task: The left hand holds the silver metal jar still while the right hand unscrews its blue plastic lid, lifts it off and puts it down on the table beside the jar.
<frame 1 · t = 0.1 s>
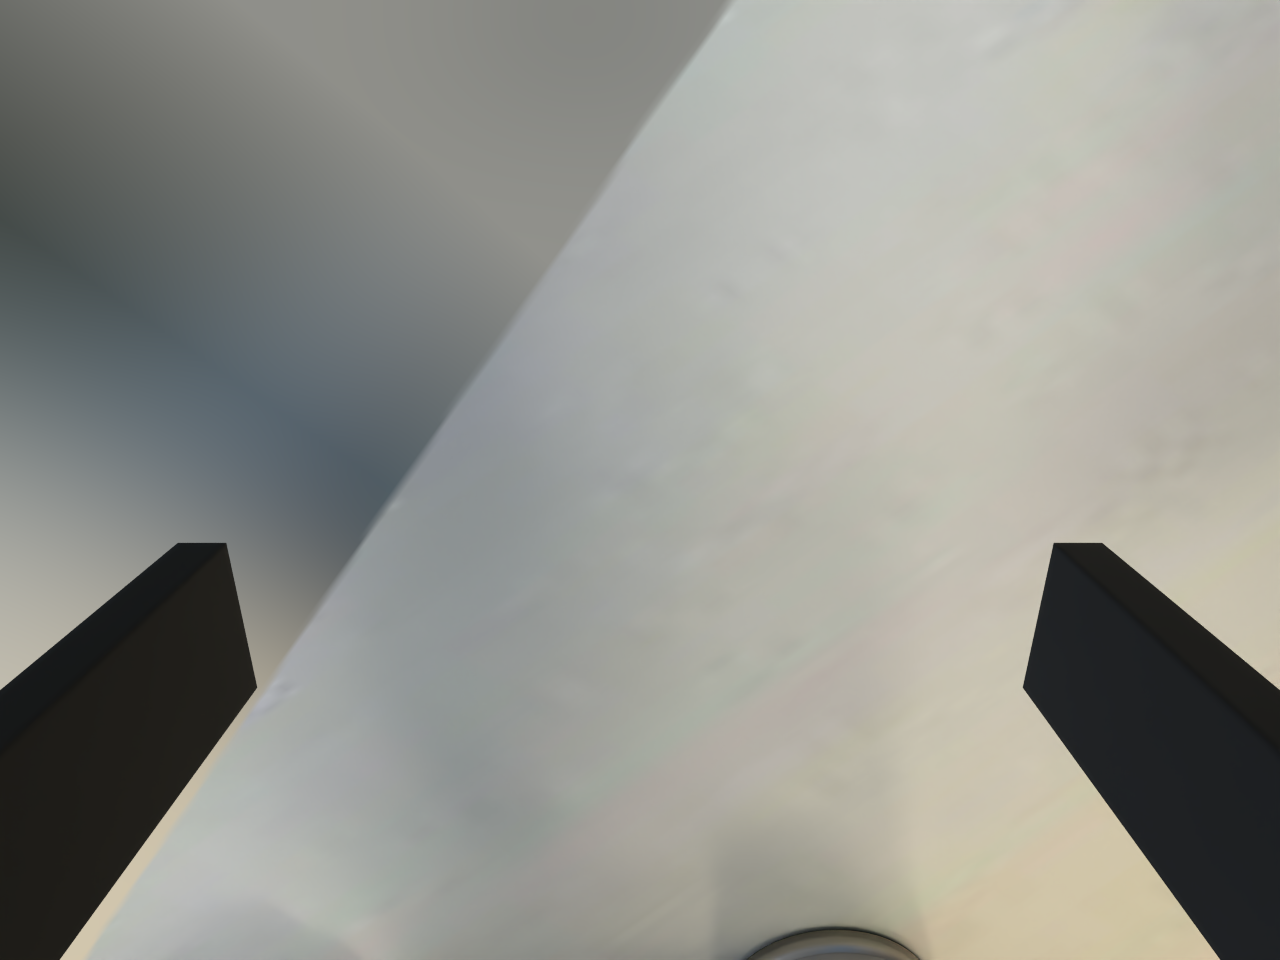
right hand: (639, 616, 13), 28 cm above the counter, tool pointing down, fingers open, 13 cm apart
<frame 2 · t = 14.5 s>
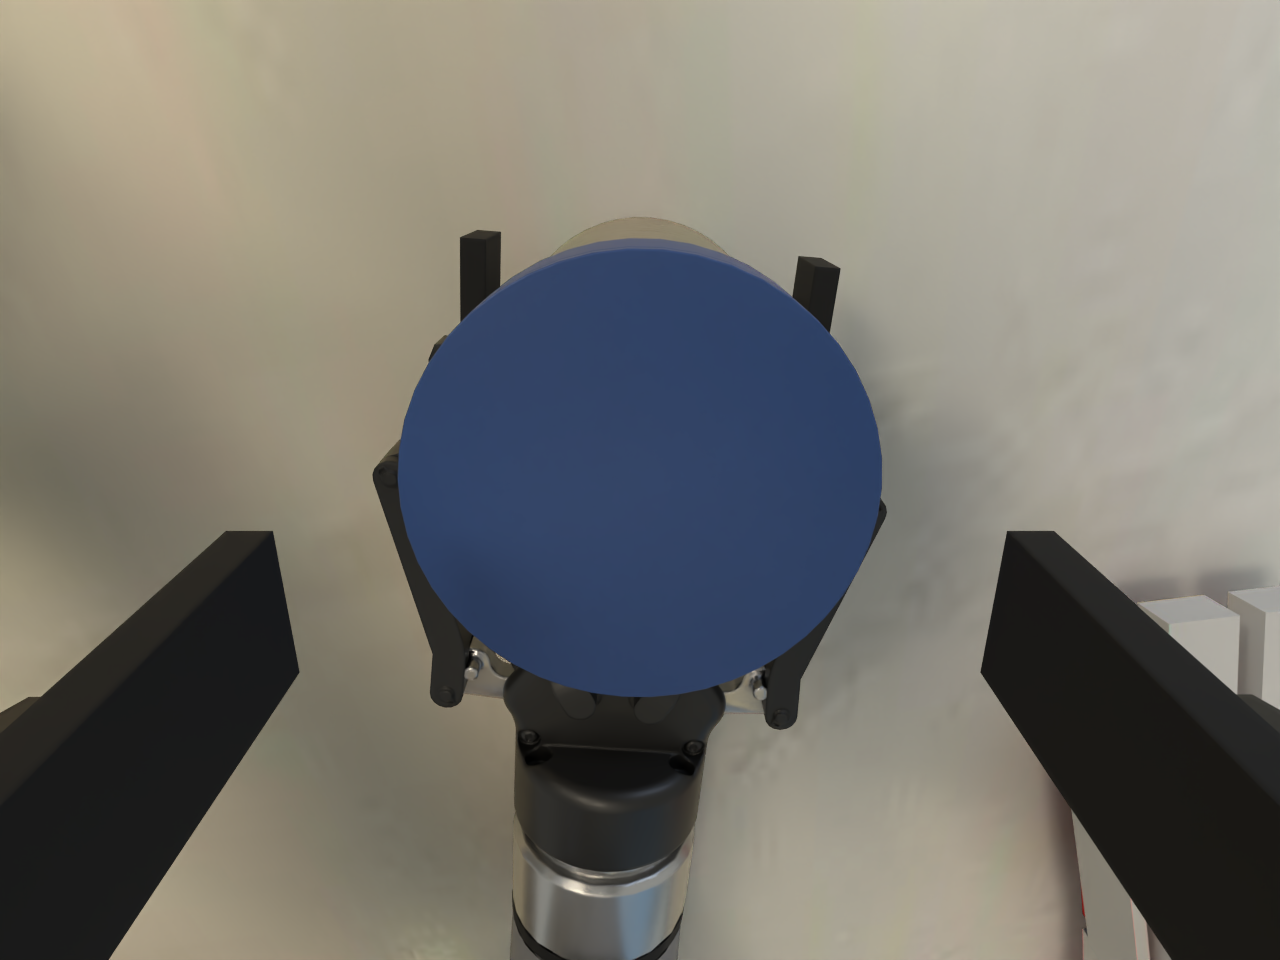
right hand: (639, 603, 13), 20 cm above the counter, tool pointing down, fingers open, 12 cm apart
toy: (1138, 812, 41), on the counter
lid: (640, 492, 18), point 16 cm above the counter, screwed on, not yet turned
jar: (640, 343, 32), on the counter, touching left hand
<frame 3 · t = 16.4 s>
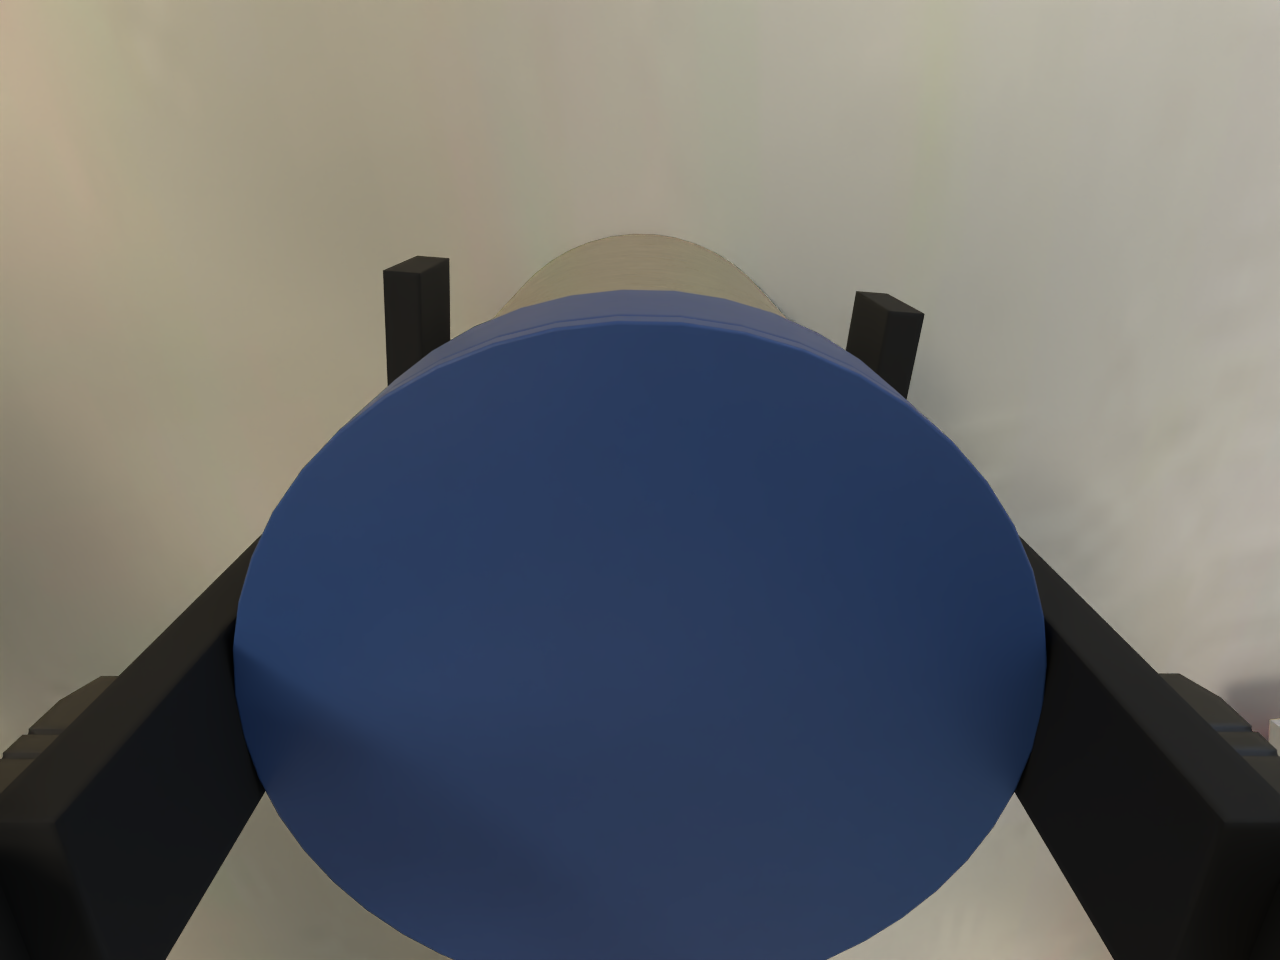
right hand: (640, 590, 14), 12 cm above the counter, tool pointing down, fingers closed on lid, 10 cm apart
toy: (1239, 944, 34), on the counter
lid: (639, 706, 11), point 16 cm above the counter, screwed on, not yet turned, touching right hand
jar: (639, 393, 25), on the counter, touching left hand
when the right hand's fingers open (13 cm above the counter, at t = 17.9 s): lid stays where it is, point 16 cm above the counter.
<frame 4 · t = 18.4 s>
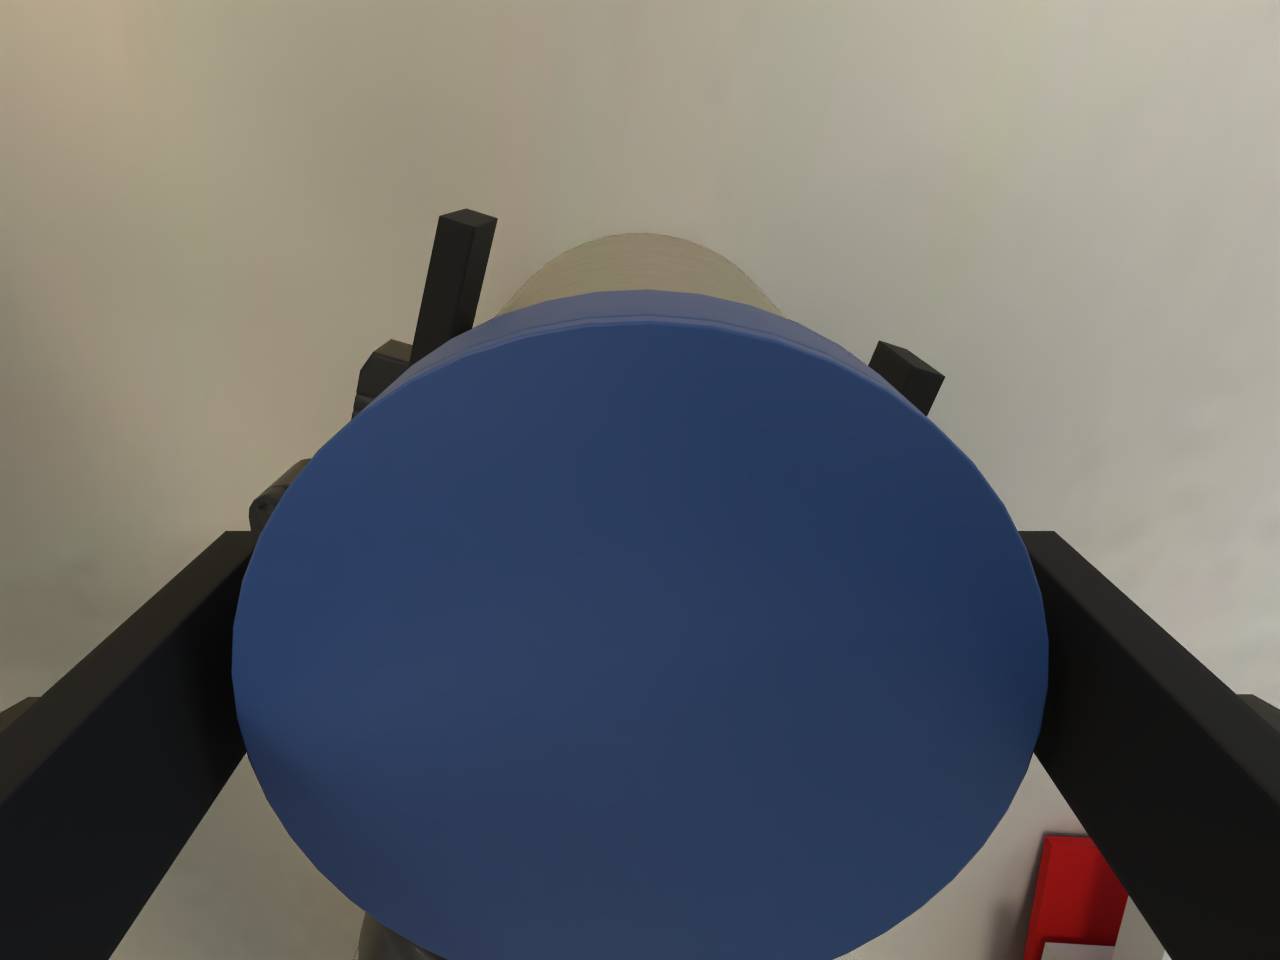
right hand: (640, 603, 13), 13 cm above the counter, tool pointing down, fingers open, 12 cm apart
lid: (640, 707, 11), point 16 cm above the counter, turned 84° so far, risen 0.3 cm, still on its thread
jar: (640, 391, 26), on the counter, touching left hand
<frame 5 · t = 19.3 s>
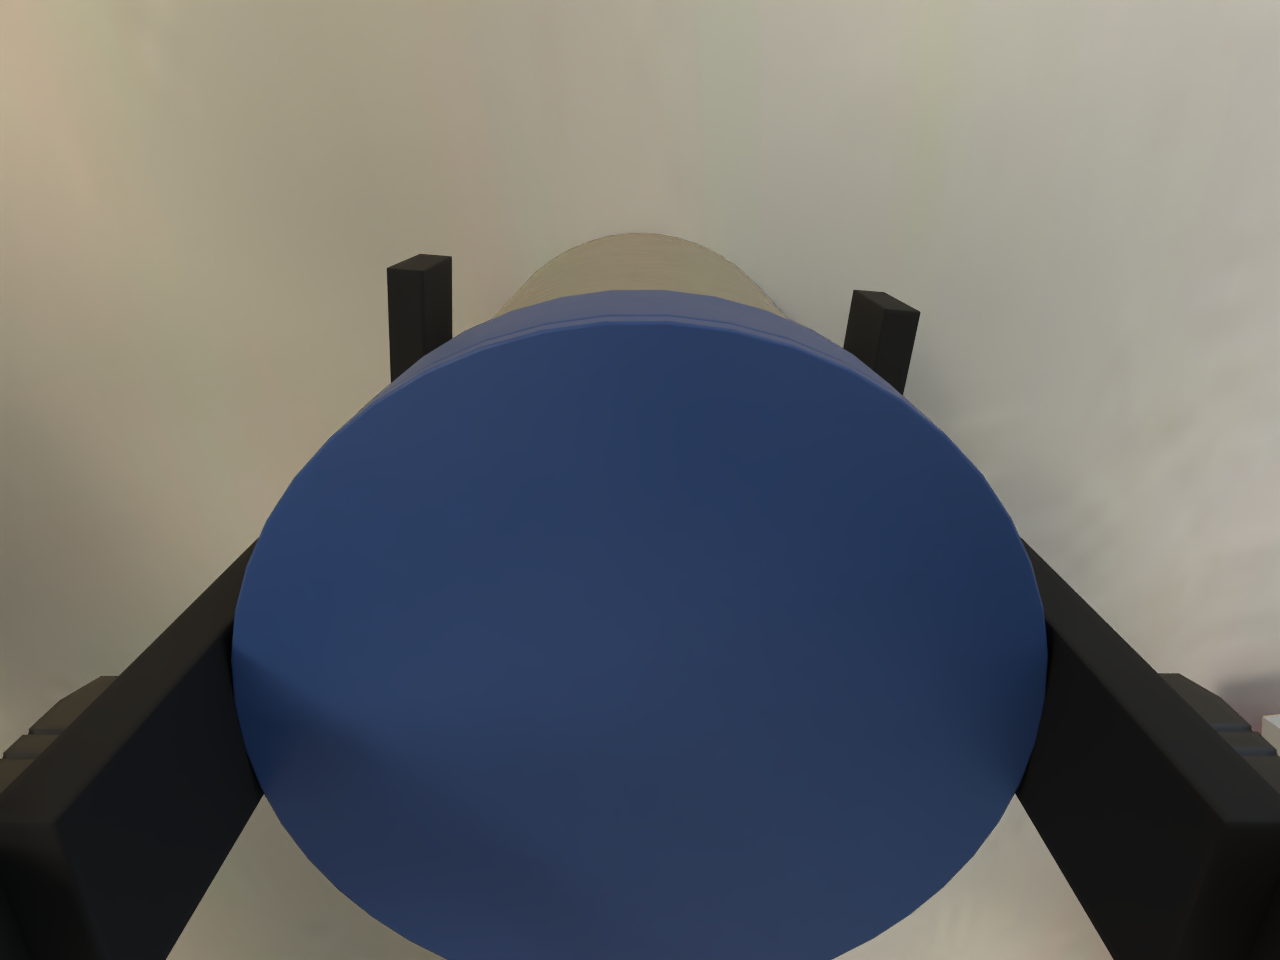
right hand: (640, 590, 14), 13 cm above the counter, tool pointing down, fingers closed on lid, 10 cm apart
toy: (1233, 940, 35), on the counter
lid: (639, 707, 11), point 16 cm above the counter, turned 84° so far, risen 0.3 cm, still on its thread, touching right hand
jar: (639, 391, 26), on the counter, touching left hand
when the right hand's fingers open (0 cm above the counter, at t = 26.0 s): lid drops 2 cm, point 2 cm above the counter.
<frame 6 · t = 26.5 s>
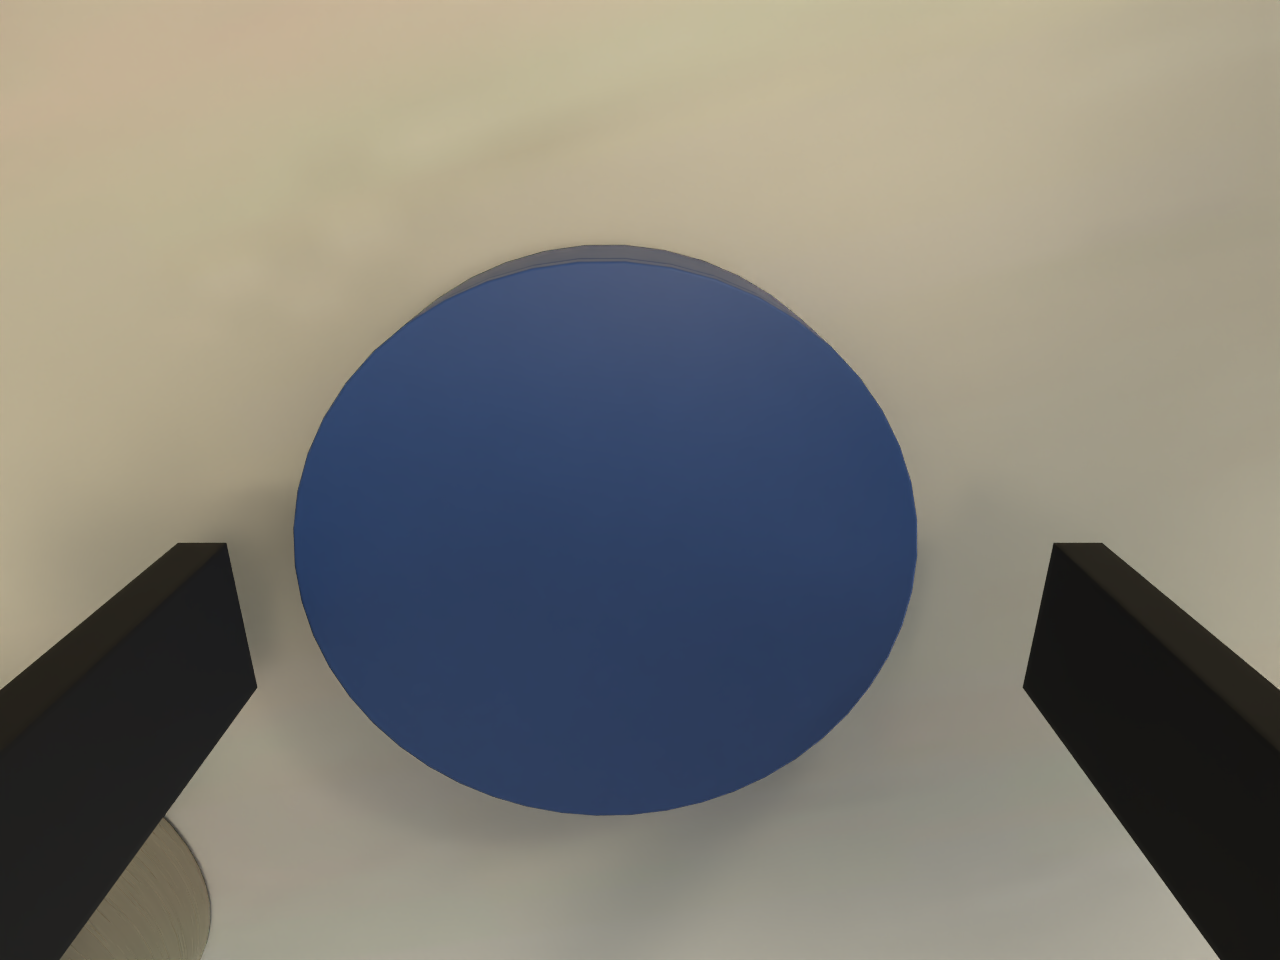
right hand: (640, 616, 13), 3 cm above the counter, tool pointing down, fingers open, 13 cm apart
lid: (608, 569, 14), point 2 cm above the counter, off its thread
jar: (2, 889, 19), on the counter, touching left hand
when the left hand's fingers open (6 cm above the counter, at t = 27.1 s): jar stays where it is, on the counter.
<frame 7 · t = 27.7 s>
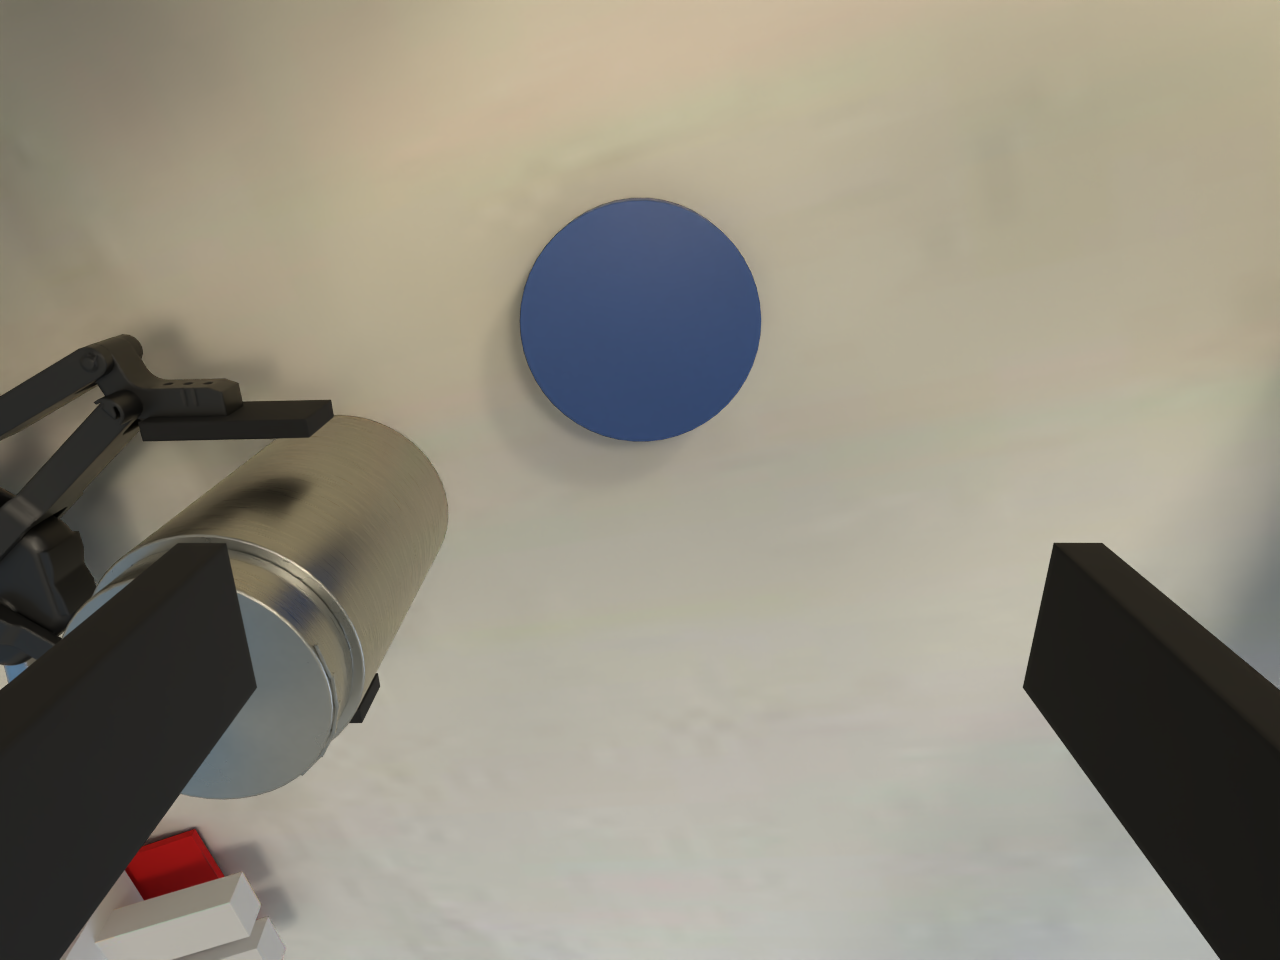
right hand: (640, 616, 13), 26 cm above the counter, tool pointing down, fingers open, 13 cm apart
toy: (68, 907, 51), on the counter
lid: (640, 326, 35), point 2 cm above the counter, off its thread
jar: (352, 506, 41), on the counter
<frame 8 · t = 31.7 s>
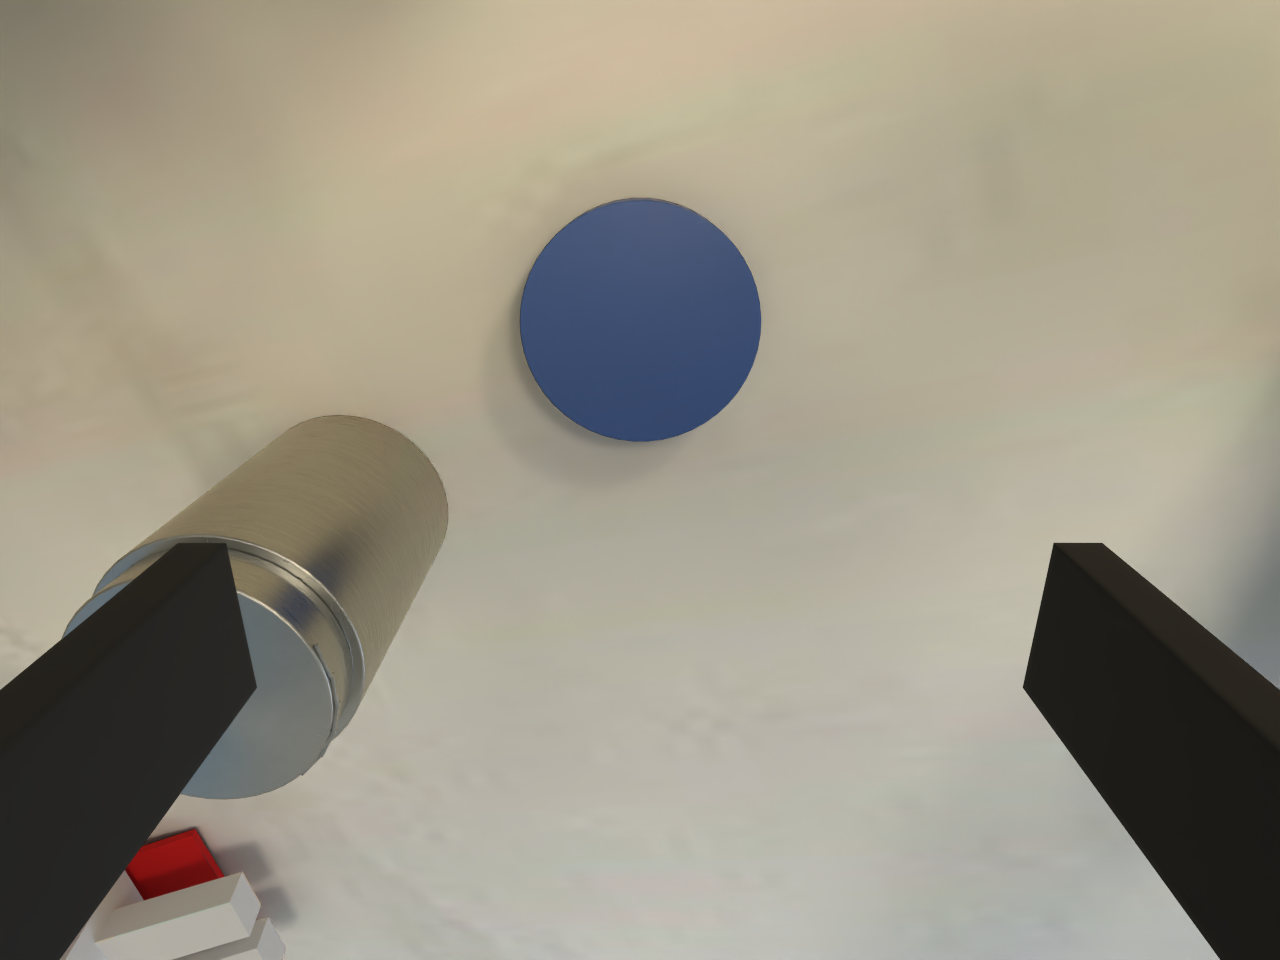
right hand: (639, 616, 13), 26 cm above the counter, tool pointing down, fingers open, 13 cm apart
toy: (68, 907, 51), on the counter
lid: (640, 326, 35), point 2 cm above the counter, off its thread
jar: (352, 506, 41), on the counter
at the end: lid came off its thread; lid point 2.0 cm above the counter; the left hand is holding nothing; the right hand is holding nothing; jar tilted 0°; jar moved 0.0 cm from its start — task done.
